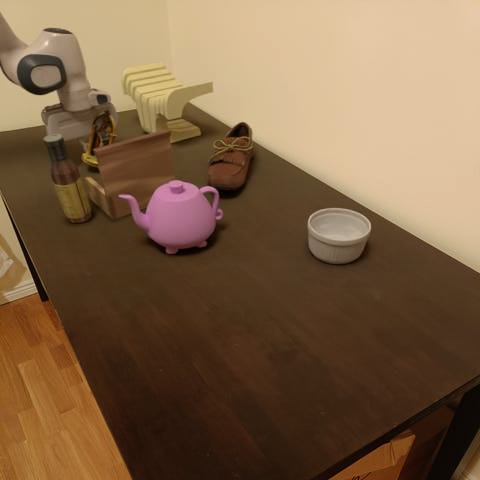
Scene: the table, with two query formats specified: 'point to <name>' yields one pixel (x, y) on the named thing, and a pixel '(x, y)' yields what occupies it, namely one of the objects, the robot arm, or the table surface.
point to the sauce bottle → (67, 181)
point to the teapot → (178, 215)
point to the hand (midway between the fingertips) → (90, 150)
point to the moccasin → (231, 159)
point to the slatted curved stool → (161, 99)
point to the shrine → (100, 137)
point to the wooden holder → (131, 172)
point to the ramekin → (337, 235)
